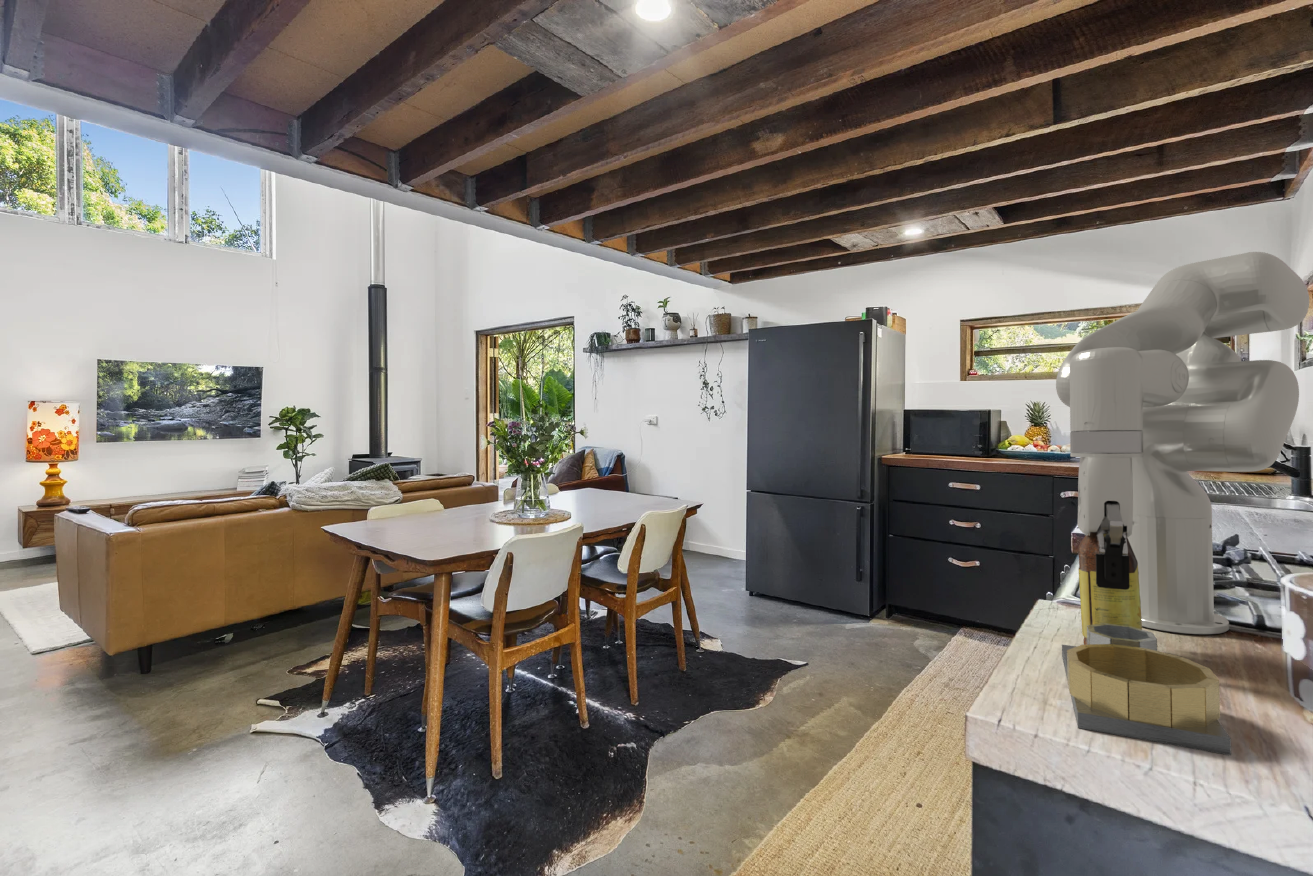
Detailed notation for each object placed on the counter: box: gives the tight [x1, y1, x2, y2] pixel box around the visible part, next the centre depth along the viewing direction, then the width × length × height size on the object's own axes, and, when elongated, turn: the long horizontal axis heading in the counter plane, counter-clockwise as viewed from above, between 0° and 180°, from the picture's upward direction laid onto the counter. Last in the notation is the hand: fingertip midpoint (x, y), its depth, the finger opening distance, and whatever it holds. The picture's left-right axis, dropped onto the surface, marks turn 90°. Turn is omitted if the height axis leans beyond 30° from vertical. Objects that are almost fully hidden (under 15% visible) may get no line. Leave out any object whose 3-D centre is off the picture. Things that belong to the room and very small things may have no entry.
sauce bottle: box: [1077, 508, 1143, 645], centre depth 79 cm, size 6×6×20 cm
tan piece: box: [1061, 623, 1232, 756], centre depth 65 cm, size 21×12×5 cm, turn 150°
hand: (1107, 580), depth 78 cm, fingers open, 9 cm apart
